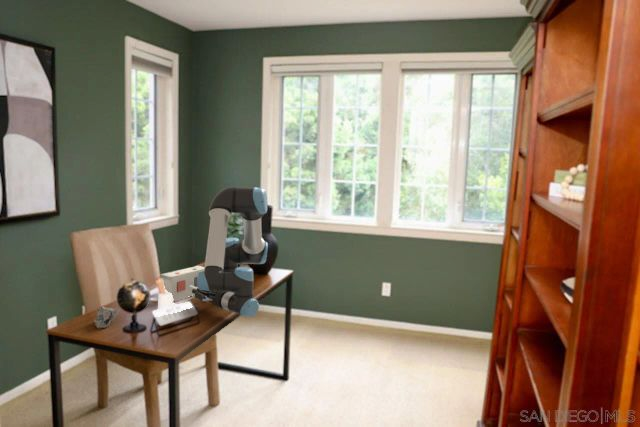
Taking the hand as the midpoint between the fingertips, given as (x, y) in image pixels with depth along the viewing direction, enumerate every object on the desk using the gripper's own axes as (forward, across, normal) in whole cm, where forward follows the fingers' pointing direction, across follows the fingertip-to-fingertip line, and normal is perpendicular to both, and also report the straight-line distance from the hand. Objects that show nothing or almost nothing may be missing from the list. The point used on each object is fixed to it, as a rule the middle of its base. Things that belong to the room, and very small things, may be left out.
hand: (190, 288), depth 208 cm
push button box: (+10, +9, -7) cm, 15 cm away
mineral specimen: (+5, -36, -7) cm, 37 cm away
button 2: (+8, 0, -2) cm, 9 cm away
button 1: (+9, +10, -2) cm, 14 cm away
